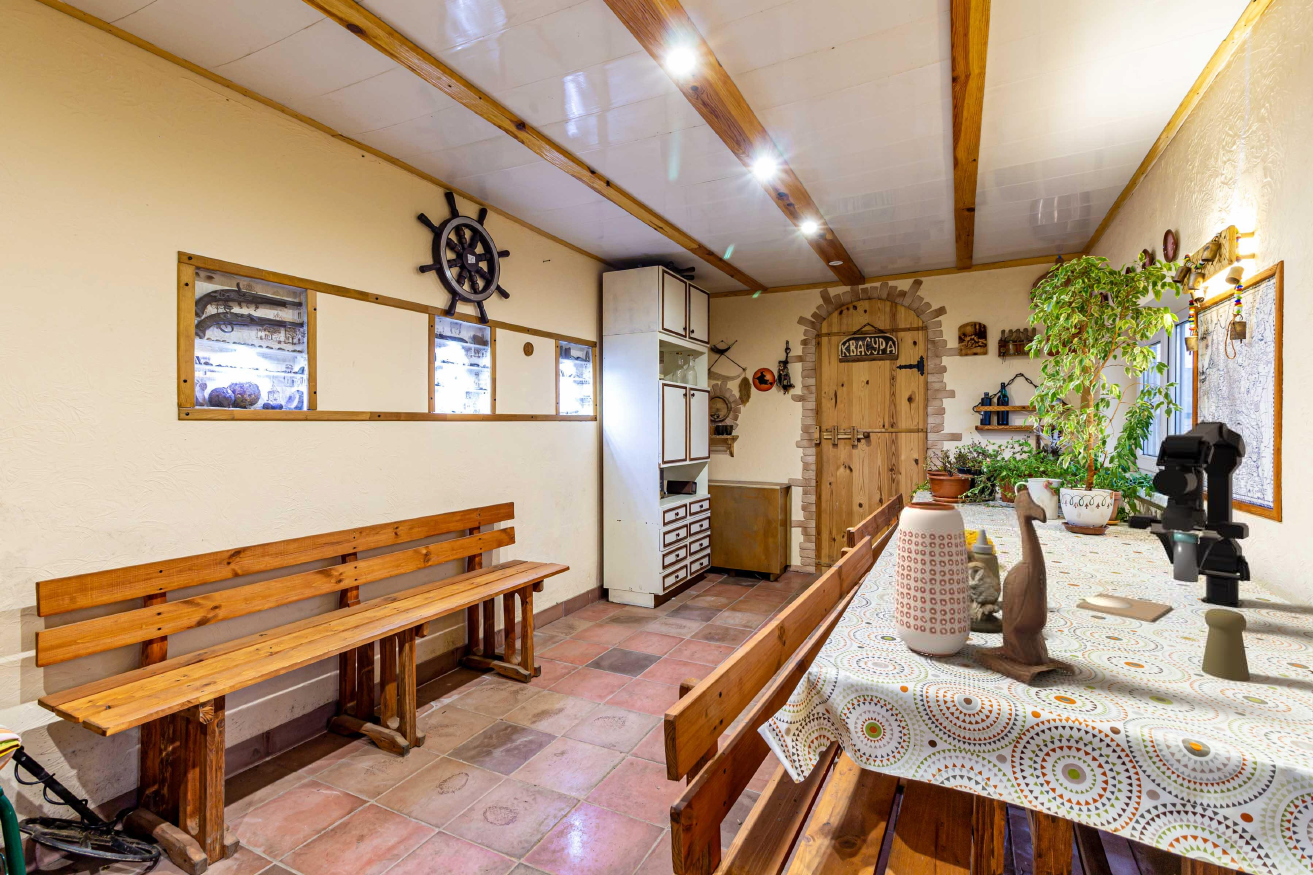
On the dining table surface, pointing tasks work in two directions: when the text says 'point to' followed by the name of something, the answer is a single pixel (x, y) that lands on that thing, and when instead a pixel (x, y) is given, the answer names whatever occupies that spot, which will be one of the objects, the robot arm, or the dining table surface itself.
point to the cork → (1225, 645)
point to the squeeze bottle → (986, 555)
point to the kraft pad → (1125, 607)
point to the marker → (1185, 556)
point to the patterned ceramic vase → (932, 579)
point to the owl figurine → (982, 597)
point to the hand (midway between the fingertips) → (1185, 565)
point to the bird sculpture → (1024, 606)
